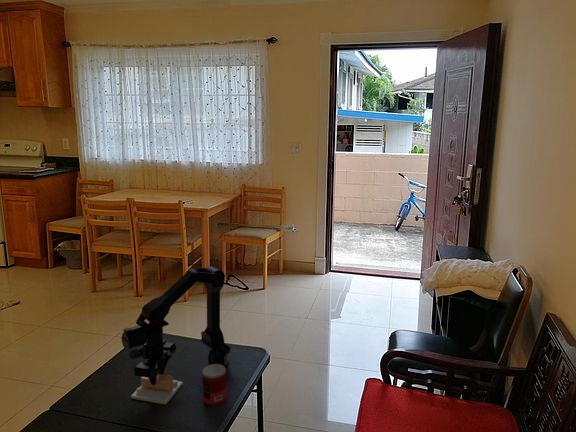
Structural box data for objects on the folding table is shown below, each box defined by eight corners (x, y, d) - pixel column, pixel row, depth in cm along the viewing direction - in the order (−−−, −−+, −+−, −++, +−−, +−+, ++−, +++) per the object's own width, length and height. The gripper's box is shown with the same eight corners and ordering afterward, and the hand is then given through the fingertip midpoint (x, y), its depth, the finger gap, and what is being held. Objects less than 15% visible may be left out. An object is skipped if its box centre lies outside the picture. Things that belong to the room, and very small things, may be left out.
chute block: (173, 386, 159) (172, 375, 158) (167, 392, 155) (166, 382, 154) (147, 381, 161) (147, 371, 160) (141, 388, 157) (140, 377, 156)
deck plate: (182, 384, 162) (182, 378, 162) (165, 404, 151) (165, 397, 151) (150, 379, 166) (149, 372, 165) (131, 398, 154) (130, 391, 154)
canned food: (230, 394, 157) (229, 365, 154) (219, 408, 149) (218, 378, 147) (210, 390, 159) (209, 361, 157) (198, 403, 152) (197, 373, 149)
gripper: (148, 324, 165) (150, 363, 168) (117, 350, 147) (120, 392, 151) (176, 328, 162) (178, 368, 166) (148, 354, 145) (150, 398, 148)
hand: (157, 380), depth 157 cm, fingers open, 5 cm apart
